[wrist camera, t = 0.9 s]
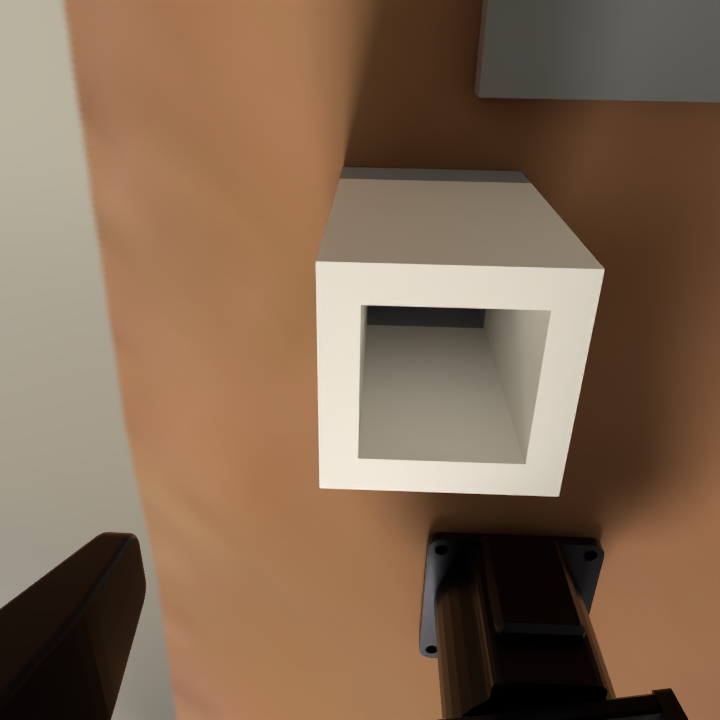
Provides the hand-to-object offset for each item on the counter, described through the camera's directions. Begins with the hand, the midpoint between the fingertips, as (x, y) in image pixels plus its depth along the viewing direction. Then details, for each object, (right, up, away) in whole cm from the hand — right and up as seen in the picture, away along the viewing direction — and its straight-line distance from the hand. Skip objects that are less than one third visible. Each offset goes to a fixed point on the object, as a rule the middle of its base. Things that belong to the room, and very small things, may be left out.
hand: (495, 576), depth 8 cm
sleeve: (0, +6, +11) cm, 13 cm away
